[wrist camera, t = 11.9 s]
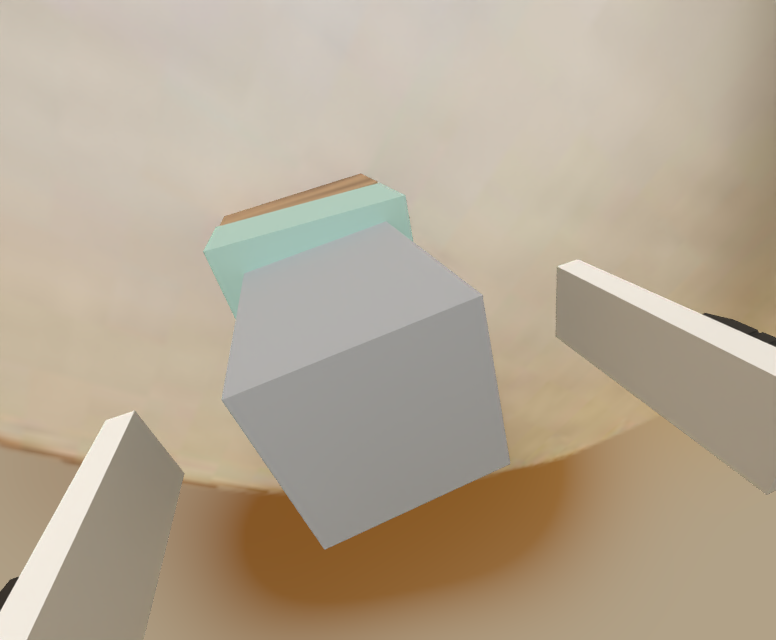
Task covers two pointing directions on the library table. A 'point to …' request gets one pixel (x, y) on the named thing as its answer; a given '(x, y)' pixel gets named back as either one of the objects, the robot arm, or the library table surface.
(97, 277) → the library table surface
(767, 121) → the library table surface
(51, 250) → the library table surface
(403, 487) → the grey block
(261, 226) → the tower top block
